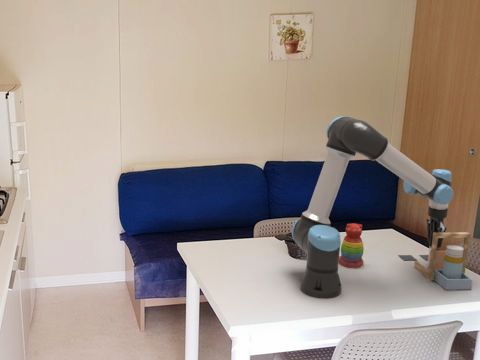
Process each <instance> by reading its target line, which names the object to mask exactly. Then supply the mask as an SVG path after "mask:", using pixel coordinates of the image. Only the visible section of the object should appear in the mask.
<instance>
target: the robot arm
mask: <svg viewBox="0 0 480 360" xmlns="http://www.w3.org/2000/svg"><path fill="white" fill-rule="evenodd" d="M326 136H327V137H326V138H327V142H326V145H325V149H326V151H327V153H326V158H325V160H324V162H323V165H322V169H321V171H320V174H319V176H318V180H317V183H316V185H315V188H314V191H313V193H312V197H311V199H310V202H309V205H308V208H307V210H305V211H303V212H301V213H302V214H301V216H300V218H299V219H297V220H296V221H295V222H294V223H293V225H292V227H291V237H292V239H293V241H294V243H295V245H297V246H298V247H299V248H300V249H301V250H303V252H304V253H305V254H306V266H305V267H306V268H305V270H304V273H303V276H302V279H301V280H300V286H299V288H300V291H302V293H304V294H306V295H308V296H311V297H315V298H322V299H325V298H326V299H327V298H328V299H330V298H335V297H338V296H339V295H340V294H341V293H342V283H341V279H340V275H339V265H340V263H339V256H340V253H341V245H342V243H341V242H342V240H341V233H340V232H339V230H337V229H336V228H335V227H332V226H331V221H330V219H329V217H330V214H331V211H332V210H333V209H332V208H333V206H334V203H335V200H336V198H337V195H338V192H339V190H340V187H341V184H342V181H343V178H344V175H345V173H346V170H347V167H348V164H349V162H350V160H351V159H353V158H355V156H356V154H359V155H362V156H364V157H366V159H367V158H368V159H369V161H376V162H377V163H378V164H380V165H382V166H383V167H385V168H386V169H387V170H389V171H390V172H392V173H393V174H395V176H397V177H398V178H400V179H402V180H403V190H404V192H405V193H406V194H407V195H412V196H414V195H418V196H420V197H423V198H426V199H428V200H429V201H428V208H427V209H428V210H427V215H428V216H429V218H427V219H426V226H427V227H426V243H428V245H429V251H428V255H429V256H428V260H427V261H428V262H429V257H430V251H431V248H432V240H433V233H438V232H447V227H445V226H444V223H445V222H444V219H446V218H448V213H449V212H448V211H449V209H448V208H449V203H450V202H451V201H452V200H453V198H454V193H455V192H454V190H453V188H452V180H453V179H452V178H453V176H452V172H451V171H450V170H447V169H442V168H441V169H440V168H439V169H433V170H432V173H429V172H428V171H427V170H425V168H423V167H421V166H419V164H417V163H416V162H415V161H413V160H412V159H410V158H409V157H407V155H405V154H404V153H402V152H401V151H400V150H398V149H397V148H396V147H394V146H393V145H391V144H390V142H389V139H388V138H387V137H385V136H384V135H383V134H382V133H381V132H379V130H377V129H376V128H374V127H373V126H372V125H370V124H369V122H366V121H364V120H361V119H358V118H353V117H351V116H338V117H336V118H334V119H333V120H331V121H330V123H329V124H328V126H327V127H326ZM443 240H444V238H438V242H437V250H436V251H438V248H439V249H440V248H441V247H442V245H443Z"/></svg>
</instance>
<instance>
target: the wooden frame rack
mask: <svg viewBox="0 0 480 360" xmlns="http://www.w3.org/2000/svg"><path fill="white" fill-rule="evenodd" d="M471 235H472V234H471V233H470V232H467V231H466V232H465V231H464V232H462V231H461V232H460V231H459V232H458V231H457V232H454V231H453V232H449V231H445V232H438V233H433V240H432V248H431V257H430V265H429V264H428V265H429V270H428V268H426V267H425V266H424V265H423V264H421V263H420V262H419V261H418V260H417V261H414V265H413V268H414V269H415V270H416V271H417V272H419V273H420V275H422V276H423V277H424V278H425V279H427V280H428V281H429V282H433V281H434V279H433V276H434V266H435V258H436V250H437V251H438V248H437V242H438V238H443V239H463V245H462V247H463V249H464V251H463V267H462V272H463V273H464V274H466V267H467V259H468V253H469V246H470V238H471Z"/></svg>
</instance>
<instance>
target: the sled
mask: <svg viewBox="0 0 480 360" xmlns="http://www.w3.org/2000/svg"><path fill="white" fill-rule="evenodd" d="M445 255H446V250H437V251H436V258H435V266H434V275H433V281H435V282H436V283H437V284H438V285H440V286H441V287H442V288H443V289H445V290H447V291H449V290H471V289H472V284H473V283H472V282H473V279H472V278H471V277H470V276H468V275H467V274H466V273H465V274H464V273H463V272H462V275H461V279H447V278H446V277H444V276H443V275H442V270H443V262H444V257H445ZM430 257H431V251H430ZM430 257H429V261H428V267H427V269H428V270H429V265H430Z"/></svg>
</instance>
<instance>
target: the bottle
mask: <svg viewBox="0 0 480 360" xmlns="http://www.w3.org/2000/svg"><path fill="white" fill-rule="evenodd" d="M445 251H446V255H445V257H444V262H443V270H442V275H443V276H444V277H446V278H447V279H461V275H462V267H463V251H464V249H463V246H459V245H458V244H457V245H455V244H448V245H446V249H445Z"/></svg>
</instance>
